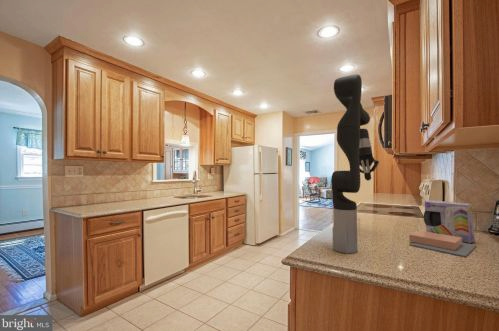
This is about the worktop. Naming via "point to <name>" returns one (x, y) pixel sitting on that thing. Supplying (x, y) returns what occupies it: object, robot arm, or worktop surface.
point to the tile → (436, 240)
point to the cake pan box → (450, 219)
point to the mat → (461, 251)
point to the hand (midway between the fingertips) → (368, 180)
